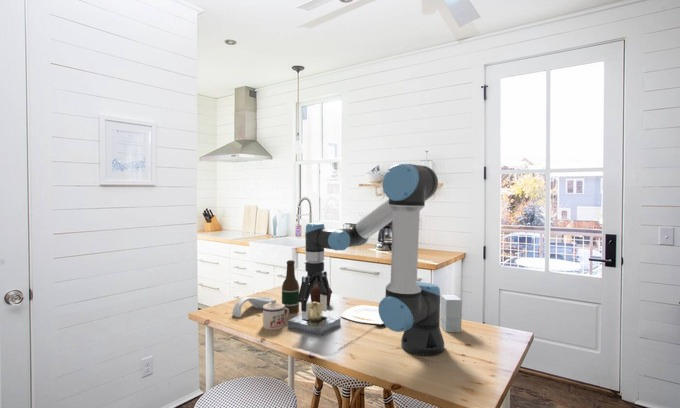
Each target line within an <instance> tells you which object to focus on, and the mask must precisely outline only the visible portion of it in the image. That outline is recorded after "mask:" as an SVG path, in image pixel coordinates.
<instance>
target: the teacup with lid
mask: <svg viewBox="0 0 680 408" xmlns="http://www.w3.org/2000/svg"><path fill="white" fill-rule="evenodd" d="M285 309H286V314H285ZM289 315H290V314H289V309H288V308H286V307H285V305H284V304H282V302H279V301H277V299H276V298H274V299H272V300H271V302H269V303H268V304H265V305H264V306H263V308H262V327H263V328H264V329H265V330H270V331H271V330H279V329H283V328H284V327H285V320H286V319H288V316H289Z"/></svg>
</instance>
